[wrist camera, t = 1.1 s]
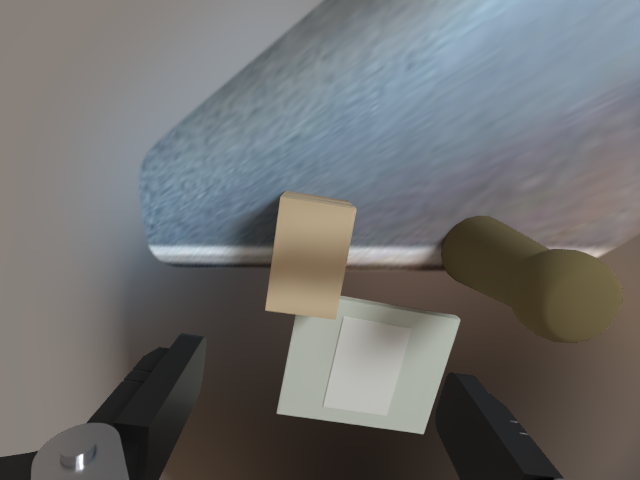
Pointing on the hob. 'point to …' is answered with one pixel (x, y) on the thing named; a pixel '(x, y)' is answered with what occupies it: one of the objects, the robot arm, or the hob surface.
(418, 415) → the board
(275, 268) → the oak block
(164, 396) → the robot arm
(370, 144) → the hob surface
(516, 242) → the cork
